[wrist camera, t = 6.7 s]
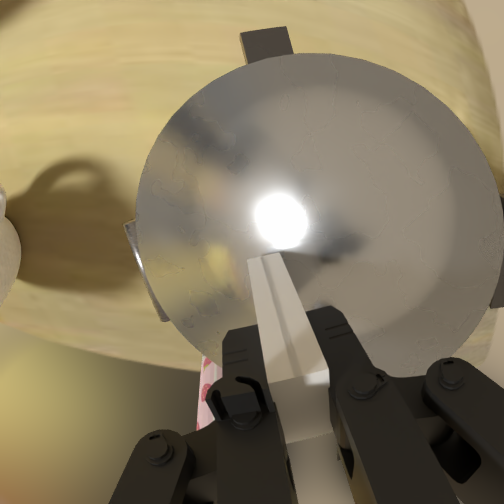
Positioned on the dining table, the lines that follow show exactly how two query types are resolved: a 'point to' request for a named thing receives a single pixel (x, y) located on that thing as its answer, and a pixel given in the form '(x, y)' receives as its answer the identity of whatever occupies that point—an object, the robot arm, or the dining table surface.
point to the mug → (7, 250)
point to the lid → (322, 208)
